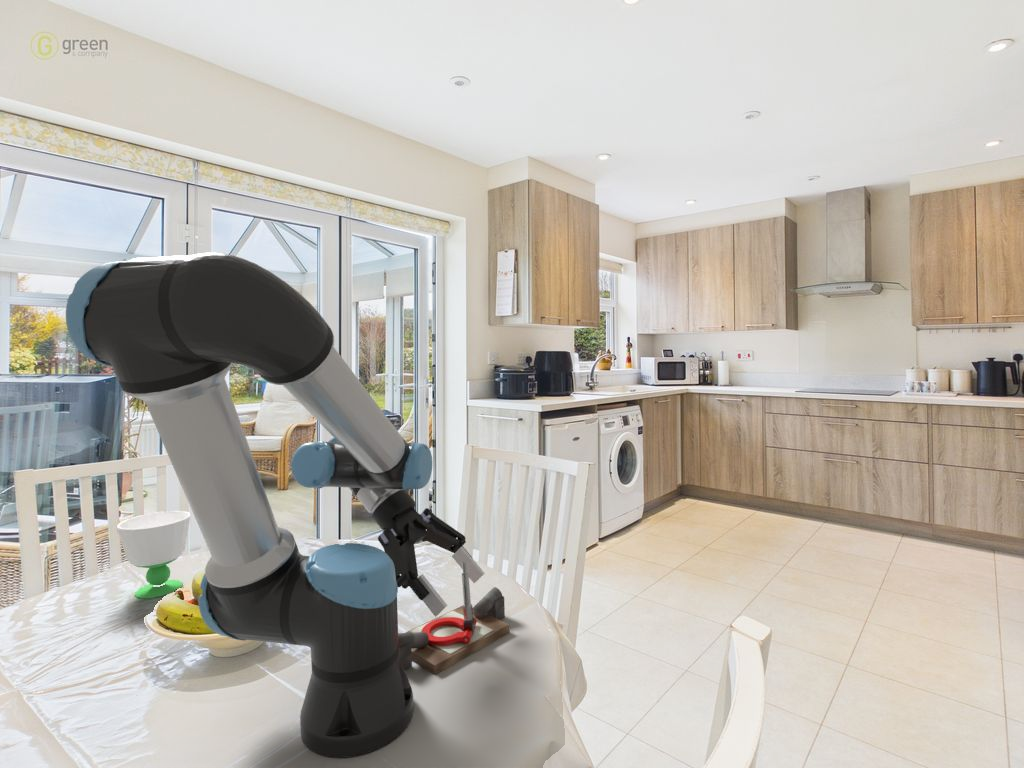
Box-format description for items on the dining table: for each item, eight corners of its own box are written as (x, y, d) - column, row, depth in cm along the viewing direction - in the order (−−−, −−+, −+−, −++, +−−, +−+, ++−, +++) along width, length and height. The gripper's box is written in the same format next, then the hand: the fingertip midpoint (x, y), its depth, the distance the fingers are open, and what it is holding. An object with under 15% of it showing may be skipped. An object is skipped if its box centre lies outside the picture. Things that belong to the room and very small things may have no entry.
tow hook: (415, 648, 90) (469, 647, 89) (409, 572, 90) (463, 571, 89) (428, 623, 99) (478, 622, 98) (423, 554, 98) (473, 552, 97)
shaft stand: (416, 685, 82) (415, 649, 82) (373, 656, 91) (372, 623, 90) (522, 624, 100) (521, 595, 100) (478, 605, 108) (477, 577, 108)
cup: (117, 589, 120) (112, 520, 119) (187, 571, 129) (183, 507, 128) (125, 610, 110) (120, 534, 109) (201, 589, 119) (197, 519, 118)
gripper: (414, 497, 112) (480, 578, 106) (328, 535, 89) (408, 641, 84) (435, 473, 109) (504, 555, 104) (353, 507, 86) (436, 613, 81)
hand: (461, 594), depth 94 cm, fingers open, 13 cm apart
